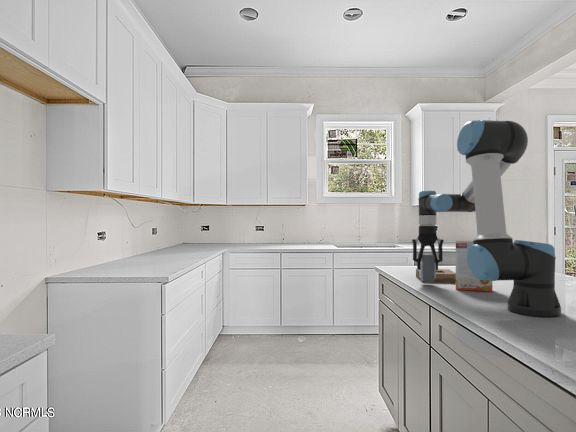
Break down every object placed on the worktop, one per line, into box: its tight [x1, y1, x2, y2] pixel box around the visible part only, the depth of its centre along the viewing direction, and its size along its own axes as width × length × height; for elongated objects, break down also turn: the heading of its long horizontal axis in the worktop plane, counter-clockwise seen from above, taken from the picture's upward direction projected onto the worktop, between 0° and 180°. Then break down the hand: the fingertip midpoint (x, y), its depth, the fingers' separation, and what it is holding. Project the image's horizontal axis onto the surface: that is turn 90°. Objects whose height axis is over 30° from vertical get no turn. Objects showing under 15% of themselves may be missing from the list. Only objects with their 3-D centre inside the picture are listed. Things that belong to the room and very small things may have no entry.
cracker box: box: [455, 239, 493, 293], centre depth 170 cm, size 14×6×21 cm, turn 68°
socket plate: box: [415, 268, 456, 284], centre depth 195 cm, size 16×16×4 cm
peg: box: [420, 253, 435, 283], centre depth 181 cm, size 5×5×12 cm
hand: (427, 277), depth 181 cm, fingers closed on peg, 5 cm apart
